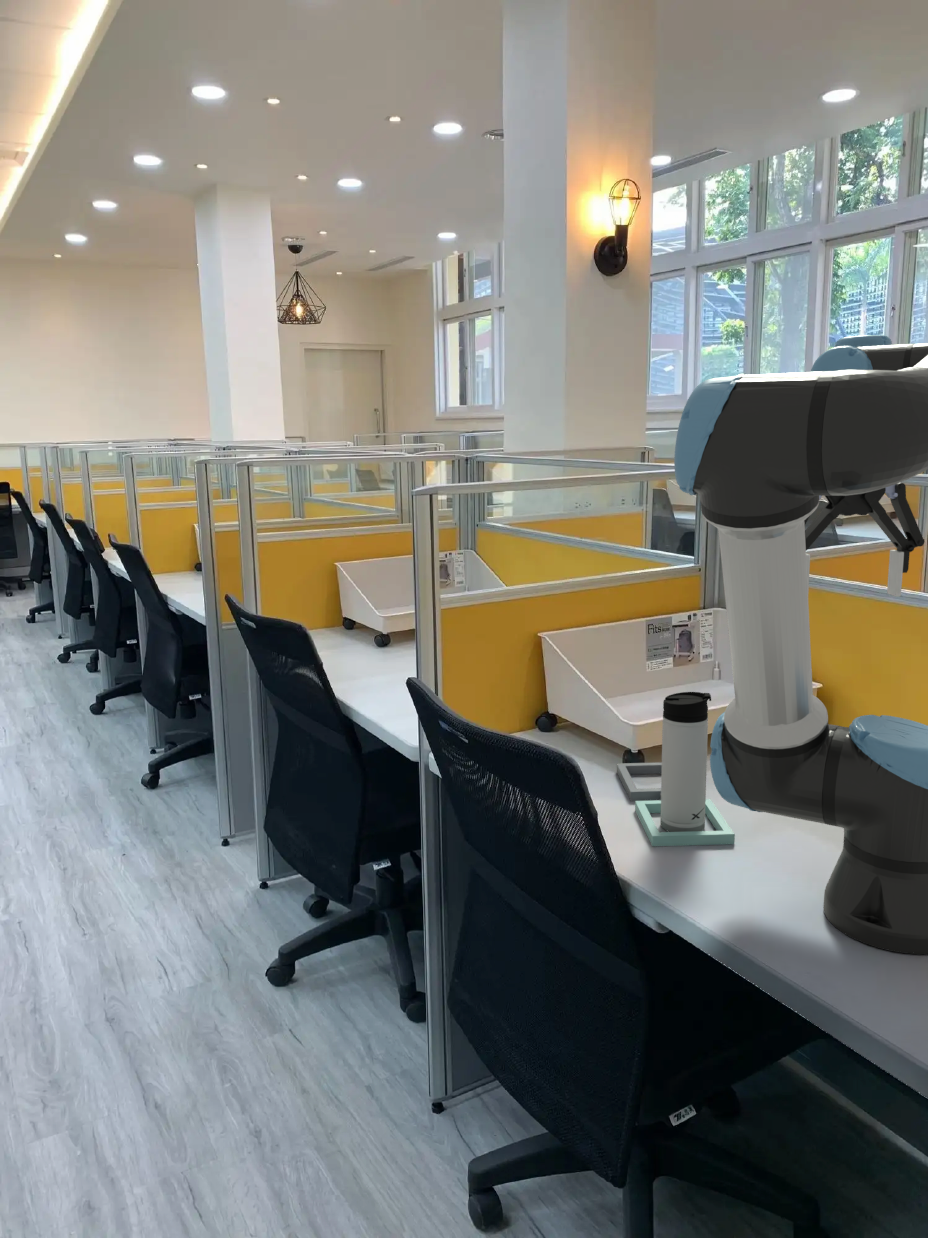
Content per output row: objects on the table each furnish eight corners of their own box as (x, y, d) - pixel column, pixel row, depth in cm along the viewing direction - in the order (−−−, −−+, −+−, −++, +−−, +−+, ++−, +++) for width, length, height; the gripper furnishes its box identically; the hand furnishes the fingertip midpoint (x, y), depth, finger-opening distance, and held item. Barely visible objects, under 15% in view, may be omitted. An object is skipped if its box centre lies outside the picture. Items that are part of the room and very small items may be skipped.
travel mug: (708, 837, 131) (712, 701, 127) (660, 834, 132) (663, 699, 128) (706, 819, 137) (710, 688, 133) (660, 816, 138) (663, 687, 134)
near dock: (734, 844, 128) (734, 834, 128) (652, 846, 128) (652, 836, 128) (710, 808, 140) (710, 799, 140) (635, 810, 140) (635, 801, 140)
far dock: (710, 808, 140) (710, 799, 140) (635, 810, 140) (635, 801, 140) (684, 770, 156) (684, 761, 156) (616, 772, 156) (616, 763, 156)
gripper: (930, 446, 135) (919, 589, 140) (760, 451, 135) (755, 594, 139) (958, 447, 128) (945, 598, 132) (779, 452, 128) (772, 603, 132)
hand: (847, 596), depth 136 cm, fingers open, 13 cm apart
